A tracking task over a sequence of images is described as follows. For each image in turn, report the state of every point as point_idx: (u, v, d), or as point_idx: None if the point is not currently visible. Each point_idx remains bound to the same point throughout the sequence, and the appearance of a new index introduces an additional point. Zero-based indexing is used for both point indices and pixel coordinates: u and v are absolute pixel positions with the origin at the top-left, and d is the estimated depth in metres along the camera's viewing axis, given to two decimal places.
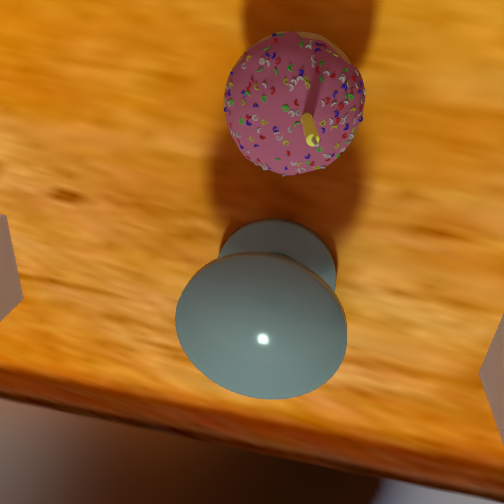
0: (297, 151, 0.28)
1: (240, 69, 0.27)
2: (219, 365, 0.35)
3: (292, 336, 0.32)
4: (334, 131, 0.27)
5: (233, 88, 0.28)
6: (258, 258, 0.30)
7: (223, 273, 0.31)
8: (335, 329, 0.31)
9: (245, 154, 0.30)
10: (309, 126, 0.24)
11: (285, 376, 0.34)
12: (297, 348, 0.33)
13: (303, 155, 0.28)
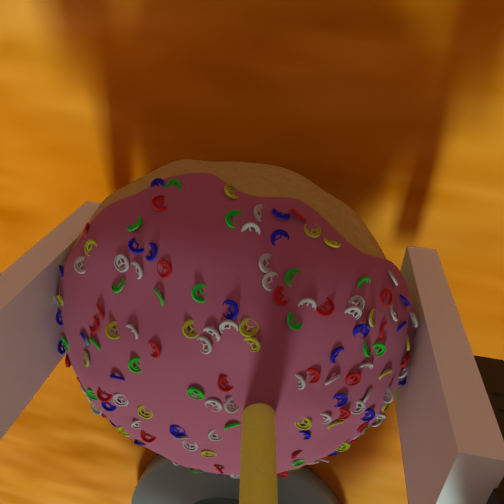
0: None
1: (75, 270, 0.10)
2: None
3: None
4: (335, 431, 0.10)
5: (65, 312, 0.11)
6: None
7: None
8: None
9: None
10: None
11: None
12: None
13: None
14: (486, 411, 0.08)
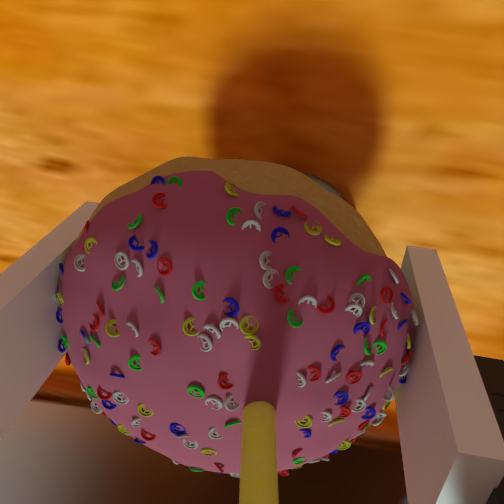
0: None
1: (75, 268, 0.10)
2: None
3: None
4: (336, 429, 0.10)
5: (65, 311, 0.11)
6: None
7: None
8: None
9: None
10: None
11: None
12: None
13: None
14: (486, 411, 0.08)
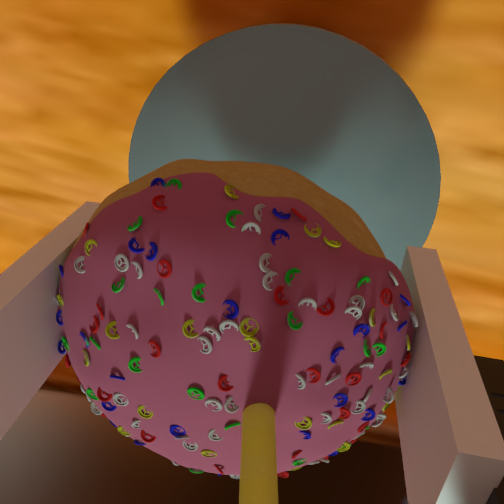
0: None
1: (75, 270, 0.10)
2: None
3: (338, 192, 0.18)
4: (335, 431, 0.10)
5: (65, 312, 0.11)
6: (274, 24, 0.16)
7: (208, 69, 0.16)
8: (418, 169, 0.17)
9: None
10: None
11: None
12: None
13: None
14: (486, 411, 0.08)
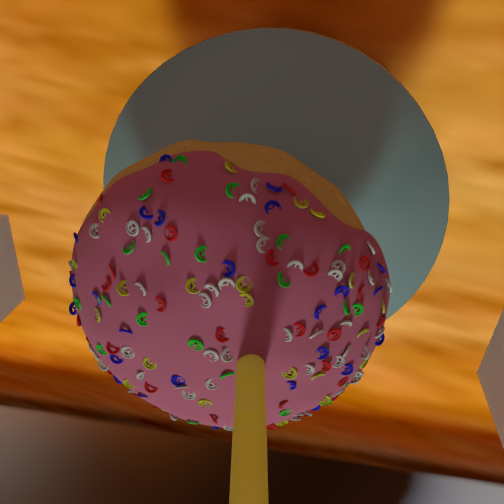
0: None
1: (89, 236, 0.11)
2: None
3: None
4: (318, 383, 0.11)
5: (79, 275, 0.12)
6: (262, 29, 0.14)
7: (189, 78, 0.15)
8: (425, 189, 0.15)
9: None
10: (243, 476, 0.08)
11: None
12: None
13: None
14: None
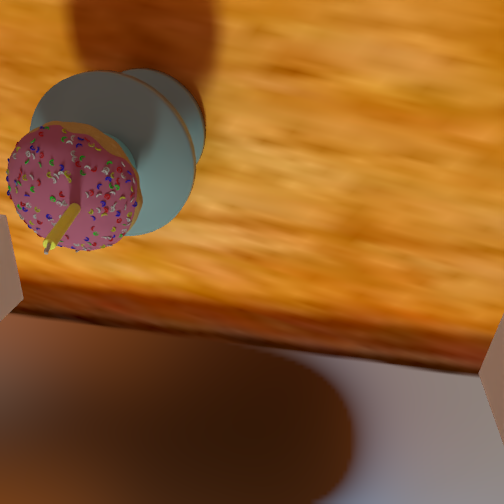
0: (75, 235, 0.29)
1: (13, 158, 0.28)
2: None
3: (141, 159, 0.33)
4: (105, 218, 0.29)
5: (9, 175, 0.29)
6: (96, 72, 0.31)
7: (66, 93, 0.32)
8: (179, 147, 0.32)
9: (36, 232, 0.31)
10: (55, 227, 0.25)
11: (143, 207, 0.35)
12: (148, 173, 0.34)
13: (81, 238, 0.29)
14: None
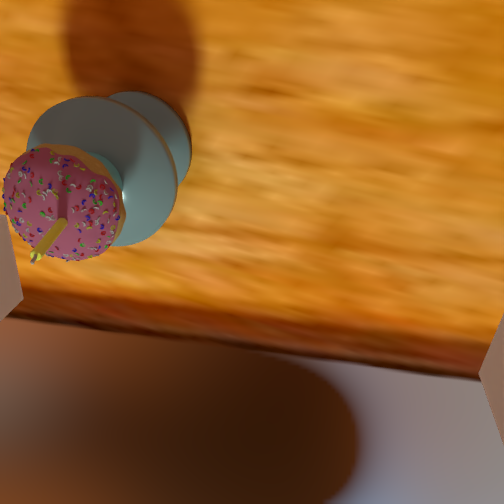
0: (63, 246, 0.32)
1: (7, 178, 0.31)
2: None
3: (127, 176, 0.36)
4: (90, 231, 0.32)
5: (5, 193, 0.32)
6: (83, 98, 0.34)
7: (57, 117, 0.35)
8: (160, 164, 0.35)
9: (30, 244, 0.34)
10: (42, 239, 0.28)
11: (130, 219, 0.38)
12: (134, 188, 0.37)
13: (70, 249, 0.32)
14: None
